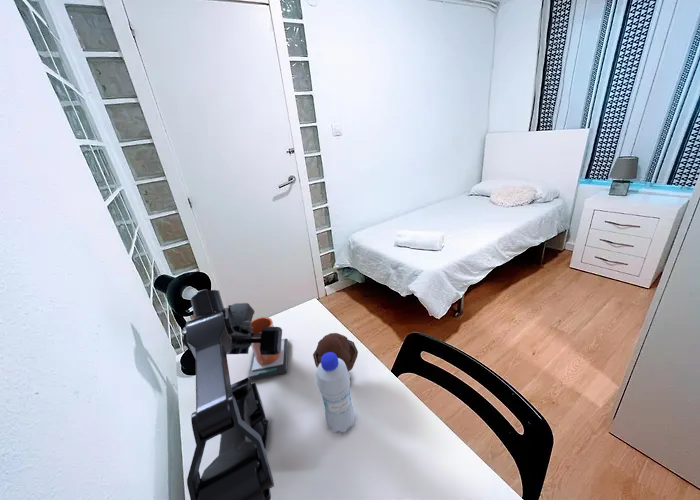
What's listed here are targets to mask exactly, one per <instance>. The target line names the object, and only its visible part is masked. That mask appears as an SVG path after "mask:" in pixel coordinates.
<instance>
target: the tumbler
mask: <svg viewBox="0 0 700 500" xmlns="http://www.w3.org/2000/svg"><path fill="white" fill-rule="evenodd" d="M250 326H251V327H253V332H251V333H262V329H263V328H264V327H275V325H274V322H273V320H272V318H270V317H267V316H262V317H257V318H255V319H252V321H251V324H250ZM253 338H254V337H253ZM253 338H252V339H253ZM255 338H261V337H255ZM260 344H261V343H251V346H250V347H251V349H252V353H253V352H254V355H255V358H256V360H257V362H258V363H259V364H261V365H268V364H271V363H273V362H275V361H276V360H277V359H278V358H279V357H280V355H281V352H280V353H279V354H278V355H261V353H260Z"/></svg>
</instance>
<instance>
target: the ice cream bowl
mask: <svg viewBox="0 0 700 500" xmlns="http://www.w3.org/2000/svg"><path fill="white" fill-rule="evenodd" d="M328 352H332V353H335V354H336V355H337V357H338V358H340V359H342V360H343V361H344V362H345V364H346V367H347V370H348V372H350V371H352V370H353V368H354V366H355V363H356V362H357V361H356V360H357V359H358V354H359V351H358V348H357V346H356V344H355V342H354V341H352V340H350V339H348V337H347V336H345V335H343V334H340V333H338V332H332V333H331V332H330V333H328V334H326V335H324V336H323V337H322V338H321V339H320V340H319V341H318V342H317V346H316V348H315V350H314V352H313V354H312V356H313V361H314V365H315V367H316V369H317V368H318V366H319V364H320V363H321V358H322V356H323V355H324V354H325V353H328ZM350 381H351V377H350Z"/></svg>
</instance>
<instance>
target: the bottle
mask: <svg viewBox="0 0 700 500" xmlns="http://www.w3.org/2000/svg"><path fill="white" fill-rule="evenodd" d="M350 378H351V375H350V373H349V371H348V370H347V367H346V364H345V362H344V361H343V360H342V359H340V358H338V357H337V355H336V354H335V353H332V352H328V353H325V354H324V355H323V356H322V358H321V363H320V364H319V366H318V368H317V367H316V385H317V388H318V391H319V393H320V395H321V398H322V404H323V407H324V414H325V420H326V423H327V426H329V428H330V429H331V431H333V433H337V432H341V433H343V434H344V433H346V432H347V430H348V429H349V428H352V427H353V426H354V422H355V409H354V405H353V402H352V394H351V388H350V386H351V380H350Z"/></svg>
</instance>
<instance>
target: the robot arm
mask: <svg viewBox="0 0 700 500" xmlns="http://www.w3.org/2000/svg"><path fill="white" fill-rule="evenodd" d="M220 292H221V291H220V290H218V289H217V290H216V289H207V288H205V289H201V290H198V291H196V293H195V294H194V295H193V296H191V298H190V303H191V308H192V311H193V316H194V318H193V319H189V320H187V321H186V323H185V326H184V327H183V328H182V334H181V335H182V336H181V342H182V345H183V346H185V347H186V348H187V350H188V351H191V353H192V355H193V358H194V359H195V411H193V412H192V413H191V415H190V416H191V417H190V418H191V419H190V420H191V421H190V422H191V429H192V433H193V436H194V442H195V448H194V452H193V456H192V460H191V464H190V467H189V470H188V474H187V478H186V486H187V489H188V495H189V499H190V500H271V499H272V493H271V489H272V488H273V487H275V481H274V477H273V472H272V469H271V466H270V462H269V458H268V456H267V452H266V448H267V440H268V439H267V438H268V429H269V420H268V419H267V417H266V412H265V408H264V404H263V401H262V398H261V395H260V392H259V388H258V386H257V383H256V381H254V382H252V381H251V379H249V377H245V378H243V379H241V380H239V381H237V382H235V383H231V376H230V369H229V363H228V356H227V355H248V354H249V349H250V348H251V347H252V346H251V343H261V344H260V353H261V355H278V354H279V353H280V352H281V340H282V339H283V328H282V327H280V326H274V327H264V328H263V329H262V333H251V332H253V327H251V326H250V324H251V322H252V321H253V317H254V315H255V309H254V307H252V306H251V305H250V303H248V302H236V303H232V304H228V306H227V307H225V306H224V302H223V299H222V296H221V293H220ZM253 337H254V338H253ZM255 337H261V338H255ZM252 338H253V339H252ZM219 435H220V440H219V449H218V450H219V451H218V455H217V456H216V457H215V458H214V460H212V462H211V463H209V465H208V466H207V467H206V468H205V469H204V470H203V472H202V475H201V473H200V467H201V463H202V460H203V455H204V452H205V448H206V444H207V441H209V440H212V439H213V438H216V437H217V436H219Z"/></svg>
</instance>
